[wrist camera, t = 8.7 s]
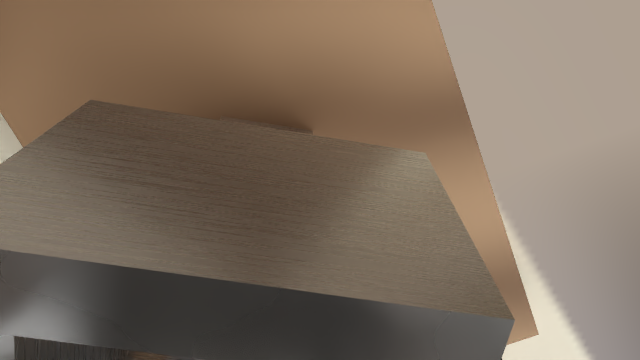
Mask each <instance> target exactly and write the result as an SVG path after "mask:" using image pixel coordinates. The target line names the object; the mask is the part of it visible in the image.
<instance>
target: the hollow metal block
mask: <svg viewBox="0 0 640 360" xmlns="http://www.w3.org/2000/svg"><path fill="white" fill-rule="evenodd" d="M514 322H515V319H514V317H513V315H512V313H511V311H510V310H509V308H508V306H507V304H506V302H505V300H504V298H503V297H502V295H501V293H500V291H499V289H498V287H497V285H496V284H495V282H494V280H493V278H492V276H491V274H490V272H489V270H488V269H487V267H486V265H485V263H484V261H483V259H482V257H481V256H480V254H479V252H478V250H477V248H476V246H475V244H474V243H473V241H472V239H471V237H470V235H469V233H468V231H467V229H466V228H465V226H464V224H463V222H462V220H461V218H460V216H459V215H458V213H457V211H456V209H455V207H454V205H453V203H452V202H451V200H450V198H449V196H448V194H447V192H446V190H445V189H444V187H443V185H442V183H441V181H440V179H439V177H438V175H437V174H436V172H435V170H434V168H433V166H432V164H431V162H430V161H429V159H428V157H427V155H426V153H424V152H418V151H411V150H405V149H399V148H393V147H386V146H380V145H374V144H367V143H361V142H355V141H348V140H342V139H336V138H330V137H323V136H317V135H311V134H304V133H298V132H292V131H286V130H279V129H273V128H267V127H260V126H254V125H248V124H242V123H235V122H229V121H223V120H216V119H210V118H204V117H198V116H191V115H185V114H179V113H172V112H166V111H160V110H154V109H147V108H141V107H135V106H128V105H122V104H116V103H110V102H103V101H97V100H89V101H88V102H86V103H85V104H84V105H82V106H81V107H79V108H78V109H77V110H75V111H74V112H72V113H71V114H70V115H68V116H67V117H65V118H64V119H63V120H61V121H60V122H59V123H57V124H56V125H54V126H53V127H52V128H50V129H49V130H47V131H46V132H45V133H43V134H42V135H40V136H39V137H38V138H36V139H35V140H33V141H32V142H31V143H29V144H28V145H26V146H25V147H24V148H22V149H21V150H20V151H18V152H17V153H15V154H14V155H13V156H11V157H10V158H8V159H7V160H6V161H4V162H3V163H1V164H0V360H501V358H502V355H503V352H504V349H505V347H506V344H507V341H508V338H509V336H510V333H511V330H512V327H513V325H514Z"/></svg>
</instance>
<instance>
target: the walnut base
mask: <svg viewBox="0 0 640 360" xmlns="http://www.w3.org/2000/svg"><path fill="white" fill-rule="evenodd" d="M89 100H97V101H103V102H110V103H116V104H122V105H128V106H135V107H141V108H147V109H154V110H160V111H166V112H172V113H179V114H185V115H191V116H198V117H204V118H210V119H216V120H220V118H221V116H222V117H229V118H235V119H241V120H248V121H254V122H260V123H267V124H273V125H279V126H286V127H292V128H298V129H304V130H311V131H313V135H317V136H323V137H330V138H336V139H342V140H348V141H355V142H361V143H367V144H374V145H380V146H386V147H393V148H399V149H405V150H411V151H418V152H424V153H426V155H427V157H428V159H429V161H430V162H431V164H432V166H433V168H434V170H435V172H436V174H437V175H438V177H439V179H440V181H441V183H442V185H443V187H444V189H445V190H446V192H447V194H448V196H449V198H450V200H451V202H452V203H453V205H454V207H455V209H456V211H457V213H458V215H459V216H460V218H461V220H462V222H463V224H464V226H465V228H466V229H467V231H468V233H469V235H470V237H471V239H472V241H473V243H474V244H475V246H476V248H477V250H478V252H479V254H480V256H481V257H482V259H483V261H484V263H485V265H486V267H487V269H488V270H489V272H490V274H491V276H492V278H493V280H494V282H495V284H496V285H497V287H498V289H499V291H500V293H501V295H502V297H503V298H504V300H505V302H506V304H507V306H508V308H509V310H510V311H511V313H512V315H513V317H514V319H515V322H514V325H513V327H512V330H511V333H510V336H509V338H508V341H507V344H506V345H508V344H511V343H514V342H517V341H520V340H523V339H526V338H529V337H532V336H535V335H539V334H538V331H537V327H536V324H535V321H534V318H533V315H532V312H531V309H530V306H529V302H528V299H527V296H526V293H525V290H524V287H523V284H522V281H521V278H520V274H519V271H518V268H517V265H516V262H515V259H514V256H513V253H512V249H511V246H510V243H509V240H508V237H507V234H506V231H505V228H504V225H503V221H502V218H501V215H500V212H499V209H498V206H497V203H496V200H495V196H494V193H493V190H492V187H491V184H490V181H489V178H488V175H487V172H486V169H485V166H484V162H483V159H482V156H481V153H480V150H479V147H478V143H477V141H476V137H475V134H474V131H473V128H472V125H471V122H470V119H469V115H468V112H467V109H466V106H465V103H464V100H463V97H462V94H461V91H460V87H459V85H458V81H457V78H456V75H455V72H454V69H453V66H452V63H451V60H450V56H449V53H448V50H447V47H446V44H445V41H444V38H443V34H442V31H441V29H440V25H439V22H438V19H437V16H436V13H435V9H434V6H433V3H432V0H0V112H1V114H2V115H3V117H4V118H5V120H6V121H7V123H8V125H9V126H10V128H11V129H12V131H13V132H14V134H15V135H16V137H17V138H18V140H19V142H20V143H21V145H22V146H23V148H24V147H25V146H26V145H28V144H29V143H31V142H32V141H33V140H35V139H36V138H38V137H39V136H40V135H42V134H43V133H45V132H46V131H47V130H49V129H50V128H52V127H53V126H54V125H56V124H57V123H59V122H60V121H61V120H63V119H64V118H65V117H67V116H68V115H70V114H71V113H72V112H74V111H75V110H77V109H78V108H79V107H81V106H82V105H84V104H85V103H86V102H88V101H89Z"/></svg>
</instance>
